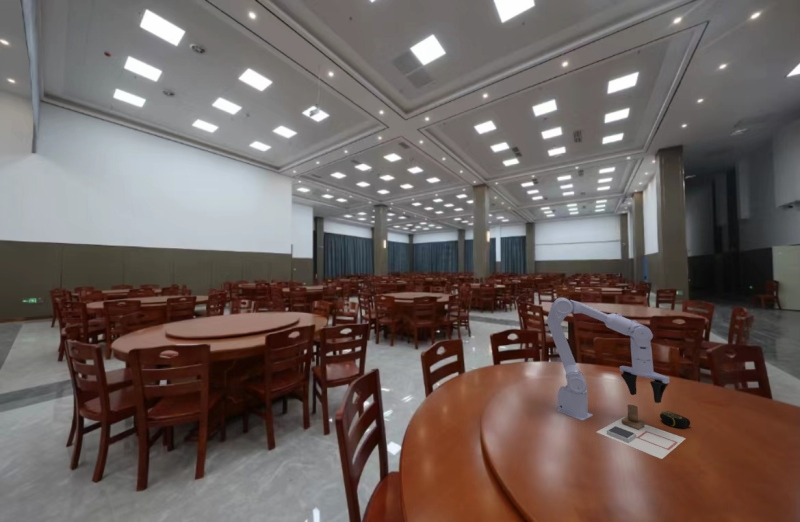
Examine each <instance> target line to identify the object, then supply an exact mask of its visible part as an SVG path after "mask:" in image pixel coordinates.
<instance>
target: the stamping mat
mask: <svg viewBox="0 0 800 522" xmlns="http://www.w3.org/2000/svg"><path fill="white" fill-rule="evenodd" d="M625 417H626V416H623V417H621V418H619V419H617V420H616V421H614V422H611V423H610V424H608V425H606V426H605V427H603V428H601V429H599V430H597V431H596V434H598V435H602V436H605V437H607V438H609V439H612V440H614V441H616V442H619V443H621V444H624V445H626V446H629V447H631V448H634V449H636V450H639V451H641V452H644V453H646V454H648V455H650V456H653V457H655V458H658V459H660V460H662V459H664V458H665V457H667V455H668V454H670V453H671V452H672V451H674V450H675V449H676V448H677V447H678V446H679V445H681V443H683V442H684V441H685V440H686V439H687V438H685V437H683V436H681V435H680V436H679V435H677V434H675V433H671V432H668V431H666V430H663V429H659V428H657V427H654V426H650V425H649V424H645V426H644V427H642V428H641V429H639V430H637V429H634V428H632V427H629V426H626V425H623V423H622V419H623V418H625Z"/></svg>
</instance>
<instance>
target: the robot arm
mask: <svg viewBox="0 0 800 522" xmlns="http://www.w3.org/2000/svg"><path fill="white" fill-rule="evenodd" d="M571 313H573V314H575V315H576V314H583V315H586V316H588V317H591V318H594V319H596V320H599V321H600V322H603V323H604V324H605V326H606V328H609V329H611V330H612V331H615V332H617V333H620V334H622V335H625V336H629V337H630V353H631V366H627V365H626V366H625V365H621V366H619V372H621V377H622V379H623V380H624V382H625V383H626V385H627V388H628V392H629V393H630V395H631V396H635V395H637V378H638V377H642V378H646V379H649V380H652V381H649V383H650V386H651V389H652V392H653V393H652V394H653V400H654V403H656V404H660V403H662V398H663V394H664V392H665V390H666V389H667V387H668V385H669V384H670V376H667V375H664V374H660V373H658V372H655V371H654V363H653V361H654V359H653V349H652V344H651V341H652V339H653V337H654V334H653V333H652V330H651V329H650V328H649V327H648V326H646V325H644V324H641V323H639V322H638V321H637V320H636V319H634V320H631V319H629V318H626V317H624V316H623V315H622V314H621V313H619V312H618V313H615V312H613V313H609V314H608V313H605V312H602V311H601V310H599V309H597V308H595V307H591V306H590V305H587V304H585V303H583V302H579V301H577V300H572V299H570V300H569V299H568V298H566V297H557V298H556V299H555V300H554V301H553V302H552V304H551V305H550V309H549V312H548V314H547V315H548V316H547V319H546V323H547V326H548V328H549V332H550V333H551V338H552V339H553V342H554V344H555V348H556V350H557V352H558V355H559V357H560V360H561V363H562V365H563V369H564V372H565V379H566V386H563V385H561V386H560V387H559V389H558V391H557V409H556V411H557V412H559V413H561V414H564V415H567V416H569V417H571V418H574V419H576V420H579V421H586V420H587V419H589V418H591V417H594V414H592V413H590V412H589V410H588V409H589V408H588V406H589V405H588V404H589V403H588V390H587V388H588V383H587V381H586V379H585V376H584V374H583V373H582V372H581V371H580V370H579V368H578V365H577V363H576V360H575V358H574V355H573V354H572V353H573V352H572V350H571V348H570V344H569V343H568V340H567V337H566V335H565V332H564V330H563V327H562V322H563V321H564V319H565V318H566V317H567V316H568V315H570V314H571Z"/></svg>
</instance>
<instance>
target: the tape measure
mask: <svg viewBox="0 0 800 522" xmlns="http://www.w3.org/2000/svg"><path fill="white" fill-rule="evenodd" d="M659 418H660V419H661V422H662V423H664V424H665V425H668V426H670V427H674V428H677V429H686V428H688V427H689V426H691V421H690V419H689V418H687V417H685V416H683V415H680V414H677V413H675V412H672V411H668V410H667V411H661V413H660V414H659Z"/></svg>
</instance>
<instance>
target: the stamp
mask: <svg viewBox="0 0 800 522" xmlns="http://www.w3.org/2000/svg"><path fill="white" fill-rule="evenodd" d="M638 411H639V409H638V406H637V405H635V404H634V405H633V404H627V416H624V417H625V418H623V417H622V418H623V419H622V423H623V425H626V426H629V427H632V428H634V429H637V430H639V429H641V428H642V427H644V426H645V425H646V422H645V421H643V420H640V419H639V412H638Z"/></svg>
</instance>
